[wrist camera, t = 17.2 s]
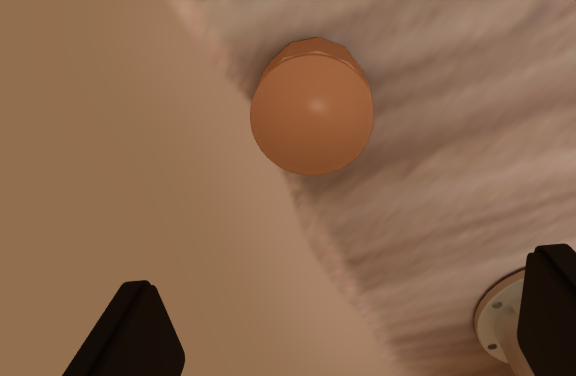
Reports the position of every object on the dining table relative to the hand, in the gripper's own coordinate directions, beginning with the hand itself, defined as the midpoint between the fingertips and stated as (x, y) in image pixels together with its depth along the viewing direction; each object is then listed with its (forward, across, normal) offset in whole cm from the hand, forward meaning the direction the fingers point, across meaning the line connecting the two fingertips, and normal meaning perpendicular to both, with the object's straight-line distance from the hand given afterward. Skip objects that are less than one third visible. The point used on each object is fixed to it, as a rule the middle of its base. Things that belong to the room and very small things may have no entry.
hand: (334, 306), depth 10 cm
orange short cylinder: (+20, +1, -1) cm, 20 cm away
